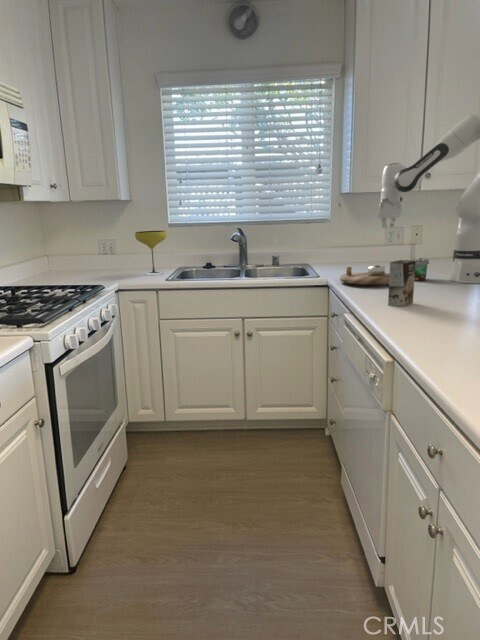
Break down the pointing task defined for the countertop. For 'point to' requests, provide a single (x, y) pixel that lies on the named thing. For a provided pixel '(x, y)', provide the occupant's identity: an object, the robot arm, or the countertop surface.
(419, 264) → the food container
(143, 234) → the cocktail glass
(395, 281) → the coffee box
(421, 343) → the countertop surface
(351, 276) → the turntable
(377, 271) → the cover
